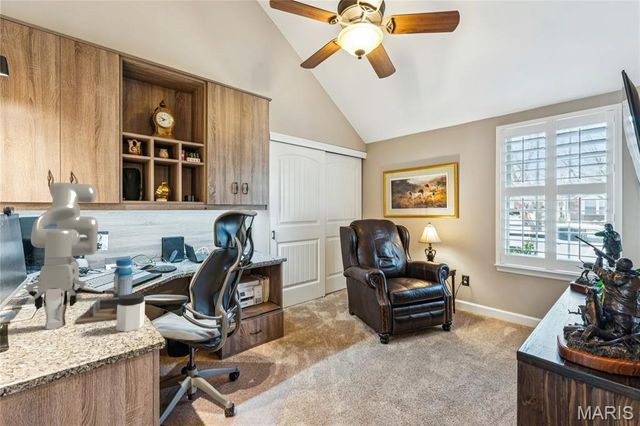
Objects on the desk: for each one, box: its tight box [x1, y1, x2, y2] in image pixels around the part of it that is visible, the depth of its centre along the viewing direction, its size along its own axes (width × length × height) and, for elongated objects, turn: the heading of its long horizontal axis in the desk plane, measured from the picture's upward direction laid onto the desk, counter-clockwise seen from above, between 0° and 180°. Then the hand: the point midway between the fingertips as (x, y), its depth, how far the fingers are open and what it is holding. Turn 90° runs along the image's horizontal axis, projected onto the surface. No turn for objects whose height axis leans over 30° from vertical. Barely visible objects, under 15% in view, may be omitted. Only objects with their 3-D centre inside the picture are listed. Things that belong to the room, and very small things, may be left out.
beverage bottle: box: [112, 258, 134, 299], centre depth 150 cm, size 8×8×20 cm
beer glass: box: [43, 288, 69, 331], centre depth 109 cm, size 7×7×15 cm
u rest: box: [74, 298, 119, 325], centre depth 124 cm, size 20×18×5 cm
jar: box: [115, 293, 146, 332], centre depth 109 cm, size 9×8×12 cm
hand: (55, 306), depth 108 cm, fingers open, 9 cm apart
